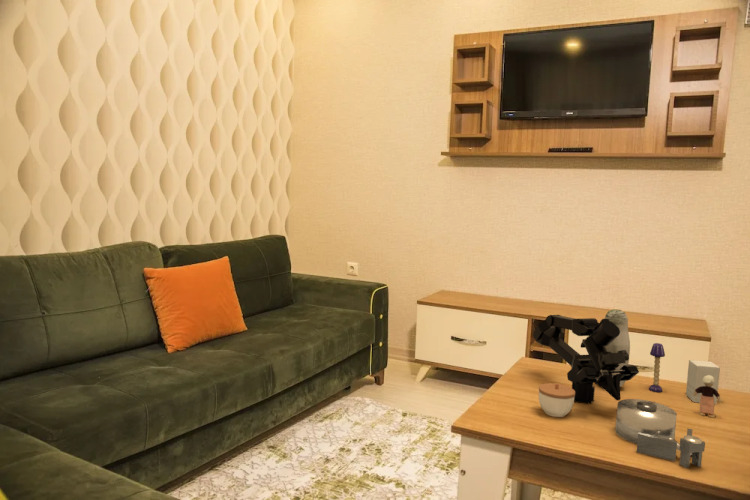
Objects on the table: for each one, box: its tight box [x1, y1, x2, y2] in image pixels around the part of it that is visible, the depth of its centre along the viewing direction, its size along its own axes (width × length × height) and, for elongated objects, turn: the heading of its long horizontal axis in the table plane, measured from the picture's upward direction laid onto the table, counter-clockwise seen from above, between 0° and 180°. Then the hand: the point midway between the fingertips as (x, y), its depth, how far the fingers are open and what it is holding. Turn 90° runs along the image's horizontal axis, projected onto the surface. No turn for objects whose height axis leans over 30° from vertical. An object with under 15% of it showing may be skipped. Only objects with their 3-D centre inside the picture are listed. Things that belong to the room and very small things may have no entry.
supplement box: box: [685, 359, 721, 405], centre depth 186 cm, size 7×7×13 cm
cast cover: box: [615, 398, 678, 445], centre depth 156 cm, size 15×15×9 cm
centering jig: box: [636, 428, 706, 469], centre depth 142 cm, size 12×17×7 cm
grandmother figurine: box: [693, 375, 723, 418], centre depth 173 cm, size 8×4×13 cm, turn 65°
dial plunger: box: [668, 438, 694, 458], centre depth 142 cm, size 7×2×2 cm, turn 14°
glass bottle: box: [604, 309, 631, 388], centre depth 195 cm, size 10×10×28 cm
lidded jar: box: [538, 382, 575, 418], centre depth 170 cm, size 11×11×9 cm
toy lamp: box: [648, 342, 666, 393], centre depth 194 cm, size 5×5×17 cm
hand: (618, 399), depth 165 cm, fingers closed
